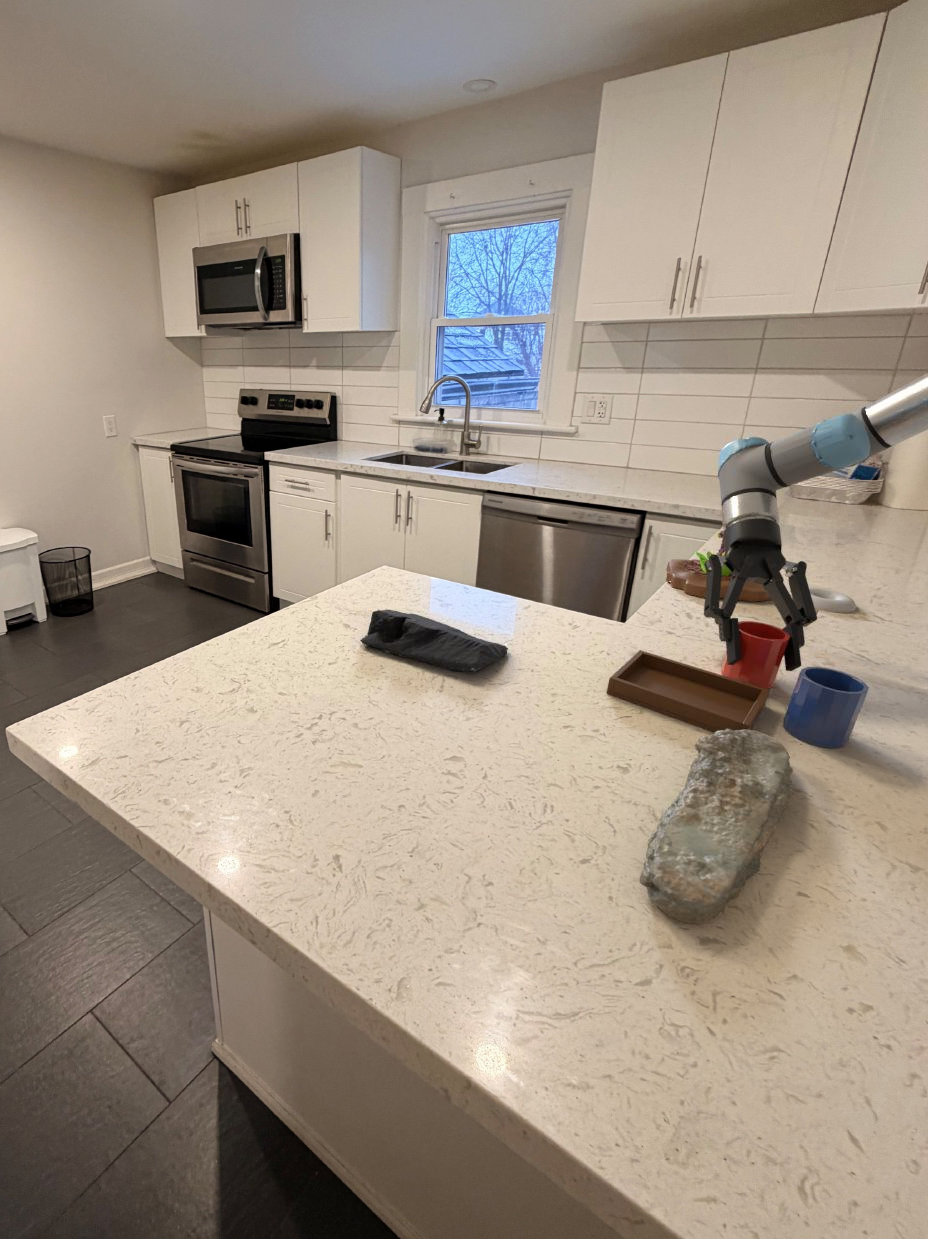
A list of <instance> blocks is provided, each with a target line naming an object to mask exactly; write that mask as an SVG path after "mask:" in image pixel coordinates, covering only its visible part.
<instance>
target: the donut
mask: <svg viewBox="0 0 928 1239" xmlns="http://www.w3.org/2000/svg"><path fill="white" fill-rule="evenodd" d="M809 590H810V593H811V597H812V600H813V604H814V608H815V611H816V615H817V616H818V613H819V612H820V611H824V612H828V613H829V612H830V613H838V614H840V613H841V614H842V613H843V614H847V613H853V612H855V611H856V609H857V605H856V601H854V599H853V598H852V597H851V596H849V595H848V594H845V593H843V592H840V591H837V590H832V589H828V588H823V587H815V586H813V587H812V586H811V587H810V586H809ZM792 599H793V598H792Z"/></svg>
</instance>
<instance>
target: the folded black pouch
mask: <svg viewBox="0 0 928 1239" xmlns="http://www.w3.org/2000/svg"><path fill="white" fill-rule="evenodd" d="M369 622H370V623H369V626H368V630H367V633H366V635H365V636H364V637H362V638H361V639H359V641H360V642H361V644H362V645H365V646H367V647H369V648H370V647H371V648H378V649H380V650H382V651H383V652H387V653H389V654H392V655H396V656H400V657H401V658H407V659H408V658H411V659H415V660H418V661H419V662H423V663H428V665H435V666H436V667H441V668H445V669H448V670H452V671H454V672H458V671H460V672H461V671H464V672H477V671H479V670H480V669H482V668H485V667H486V666H488V665H490V664H492V663H494V662H495V661H499V660H501V659H502V658H503V657H505V656H506V655H507V654H508V650H509V648H508V647H507V646H506V645H503V644H501V643H498V642H493V641H488V640H485V639H482V638H478V637H476V636H473V635H470V634H468V633H466V632H465V631H462V630H461V629H458V628H456V627H453V626H450V625H448V624H446V623H442V622H440V621H437V620H434V619H431V618H428V617H426V616H423V615H420V614H416V613H407V612H401V611H398V610H392V609H377V610H374V611H372V613H371V618H370V621H369ZM397 639H398V641H396V640H397ZM394 641H396V642H394Z"/></svg>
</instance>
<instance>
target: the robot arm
mask: <svg viewBox="0 0 928 1239" xmlns="http://www.w3.org/2000/svg"><path fill="white" fill-rule="evenodd" d="M927 430H928V372H927V373H925V374H923V375H921V376H920V377H918V378H916V379H914V380H912V381H910V382H908V383H906V384H905V385H903V386H901V387H899V388H897V389H895V390H893V391H891V392H890V393H888V394H885V395H884V396H881V397H880V398H878V399H876V400H874V401H872V402H871V403H868V404H867V405H865V406H863V407H862V408H861V407H860V408H859V409H857V410H855V411H853V412H852V413H843V414H840V415H837V416H835V417H831V418H828V419H823V420H821V421H820V422H818V423H816V424H813V425H811V426H808V427H806V428H804V429H802V430H799V431H797V432H793V433H792V434H790V435H787V436H784V437H783V438H782V437H781V438H780V439H778V440H775V441H772V442H769V441H767V439H765V438H763V437H759V436H748V437H747V438H744V439H743V438H737V439H735V440H732V441H731V442H728V443H727V444H726V445H725V446H724V447H722V449H721V450H720V452H719V454H718V469H717V477H718V480H719V491H720V502H721V504H720V505H721V519H722V529H723V531H724V533H723V536H724V549H725V555H724V556H719V557H718V556H717V555H715V554H716V553H712V555H711V556H710V557H709V558H708V559H707V560H706V561H705V562H704V566H705V569H706V572H707V582H706V593H705V598H704V606H703V616H704V617H705V618H707V619H713V620H714V623H715V624H716V625H718V638H719V640H720V642H724V643H725V648H726V649H725V651H727V664H728V665H734V664H735V663H737V662H738V661H740V660H741V649H740V636H739V624H738V622H739V618H738V617H732V616H733V613H734V611H735V609H736V606H737V603H738V601H739V600H738V599H739V596H740V593H741V591H742V588H743V586H744V583H751V582H753V583H756V584H762V586H763V588H764V590H765V591H768V593H769V595H770V597H771V598H772V599H771V600H772V602H773V604H774V606H775V607H776V610H777V611H778V614H779V615H780V617H781V618H782V620H783V622H784V624H785V625H786V626H784V627H783V628H781V629H782V630H784V631H786V632H787V633H788V634H789V635H790V639H789V642H788V645H787V648H786V651H785V654H784V657H783V659H784V667H785V671H786V672H793V671H795V670H797V669H799V668H800V667H802V666H803V665H802V658H801V651H800V650H801V648H803V647H804V646H805V644H806V641H805V632H804V628H806V627H809V626H810V625H811V624H813V623H814V622H816V621H817V620H818V614H817V615H816V611H815V608H814V604H813V600H812V597H811V593H810V590H809V587H810V586H809V583H808V580H807V575H806V573H807V569H808V568H807V567H808V564H807V562H806V561H803V560H800V561H799V562H793V561H790V560H787V558H786V557H785V556H784V554H783V552H782V549H783V548H782V547H783V544H782V543H783V542H782V532H781V526H780V516H779V508H778V500H777V491H779V490H782V489H784V488H788V487H790V486H794V485H796V484H799V483H803V482H805V481H809V480H812V479H814V478H818V477H820V476H824V475H827V474H829V473H833V472H835V471H840V470H841V471H842V470H844V469H845V468H846V469H847V468H851V467H854V466H856V465H859V464H862V463H864V462H865V461H867V460H869V459H870V458H871V457H874V456H875V455H877V454H879V453H882V452H883V451H886V450H888V449H890V448H891V447H893V446H895V445H898V444H900V443H902V442H904V441H906V440H909V439H910V438H911V439H912V438H913V437H915V436H917V435H919V434H922V433H924V432H925V431H927ZM724 565H725V566H726V567H727V568H728V569H729V570H730V571H731V572H732V574H733V576H732V579H731V581H730V584H729V585H730V586H729V588H728V591H727V593H726V596H725V598H723V601H722V604H721V606H720V599H721V598H720V589H721V577H722V568H723V567H724ZM782 570H784V572H785V577H786V578H788V581H787V582H788V586H789V590H790V592H789V590H788V588H787V587H786V585H785V583H784V581H785V579H784V577H783V575H782V573H781V571H782ZM792 598H793V599H792Z"/></svg>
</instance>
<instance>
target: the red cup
mask: <svg viewBox="0 0 928 1239" xmlns="http://www.w3.org/2000/svg"><path fill="white" fill-rule="evenodd" d="M738 624H739V636H740V649H741V660H740V661H738V662H737V663H735V664H734V665H728V664H727V650H725V653H724V658H723V661H722V663H721V669H720V675H723V676H726V677H729V678H733V679H736V680H739V681H742V682H746V683H749V684H752V685H755V686H759V687H762V688H765V689H768V690H769V689H771V688H773V687H774V685H775V683H776V680H777V679H778V675H779V672H780V669H781V665H782V663H783V659H784V654H785V651H786V648H787V645H788V642H789V639H790V635H789V634H788V633H787V632H786V631H784V630H782V629H783V628H781V627H778V626H775V625H773V624H769V623H765V622H761V621H754V620H741V621H738Z"/></svg>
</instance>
